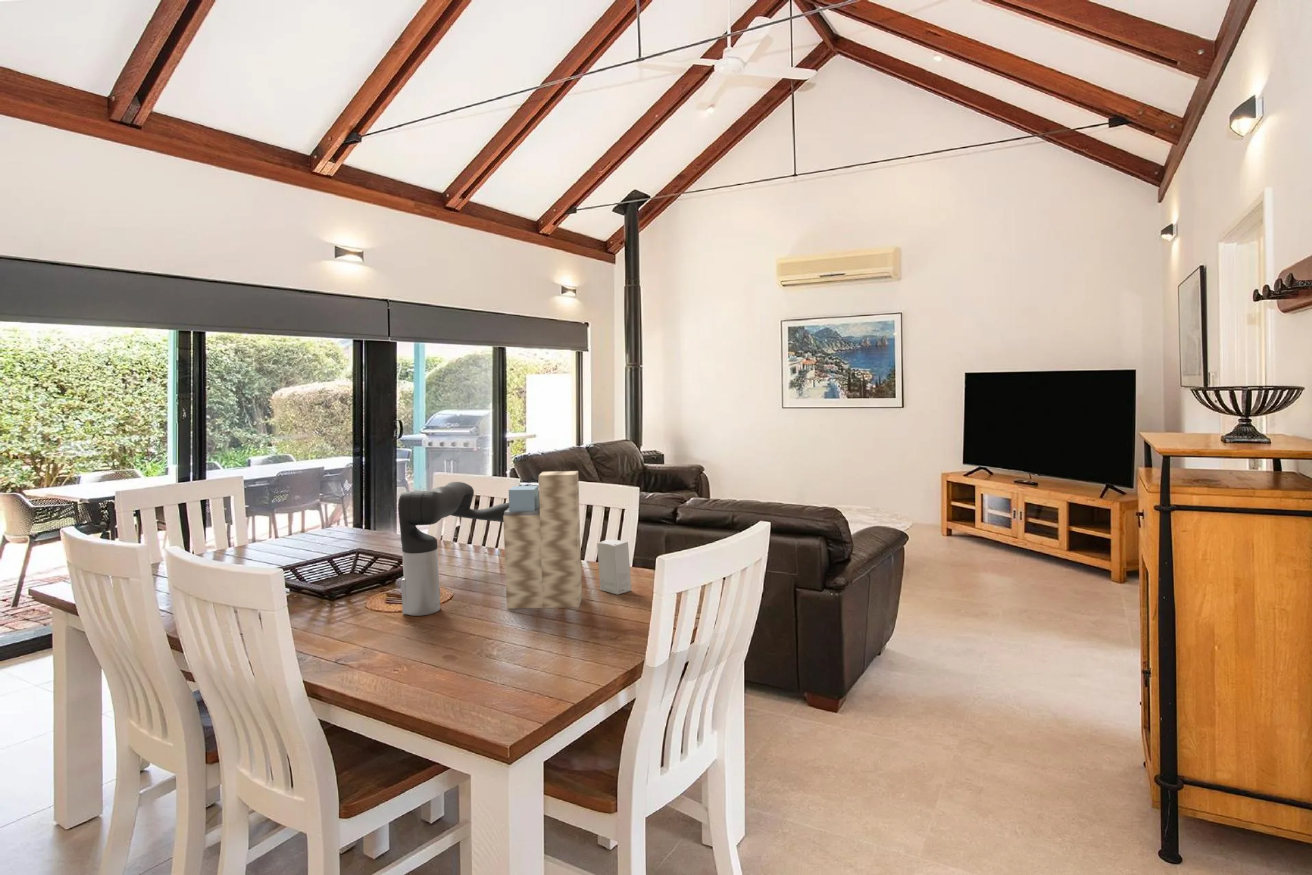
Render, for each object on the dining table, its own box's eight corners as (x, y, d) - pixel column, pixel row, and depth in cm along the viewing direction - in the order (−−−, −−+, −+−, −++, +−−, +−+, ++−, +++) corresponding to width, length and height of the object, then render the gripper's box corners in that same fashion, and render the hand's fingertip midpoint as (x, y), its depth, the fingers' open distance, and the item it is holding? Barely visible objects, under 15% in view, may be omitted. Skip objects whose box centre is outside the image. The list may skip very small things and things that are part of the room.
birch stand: (506, 608, 201) (501, 476, 198) (512, 600, 209) (507, 472, 206) (578, 607, 201) (575, 474, 198) (581, 598, 209) (578, 471, 205)
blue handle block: (509, 511, 200) (508, 490, 199) (520, 501, 216) (519, 481, 216) (534, 511, 200) (534, 489, 199) (544, 500, 216) (543, 480, 216)
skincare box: (631, 591, 215) (630, 541, 214) (616, 595, 211) (615, 545, 210) (613, 585, 221) (612, 537, 220) (597, 589, 217) (596, 540, 216)
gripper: (520, 495, 236) (511, 476, 221) (564, 494, 236) (558, 475, 221) (519, 517, 232) (509, 499, 218) (563, 516, 232) (556, 498, 218)
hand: (533, 487), depth 219 cm, fingers open, 8 cm apart
